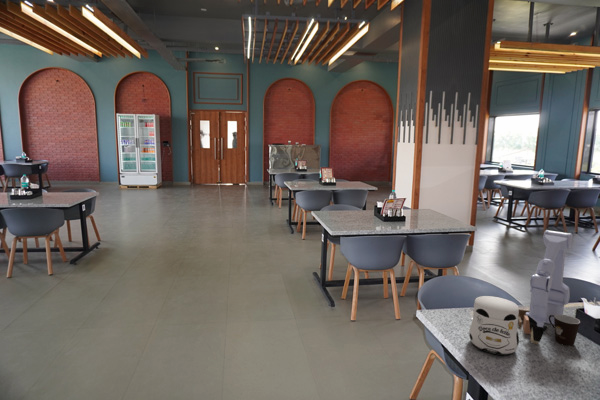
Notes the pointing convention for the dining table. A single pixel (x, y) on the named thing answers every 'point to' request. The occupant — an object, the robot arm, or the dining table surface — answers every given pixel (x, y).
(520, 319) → the wooden u-shaped bracket
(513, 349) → the milk container
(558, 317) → the coffee mug
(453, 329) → the dining table surface
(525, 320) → the tethered block
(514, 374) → the dining table surface
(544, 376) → the dining table surface
